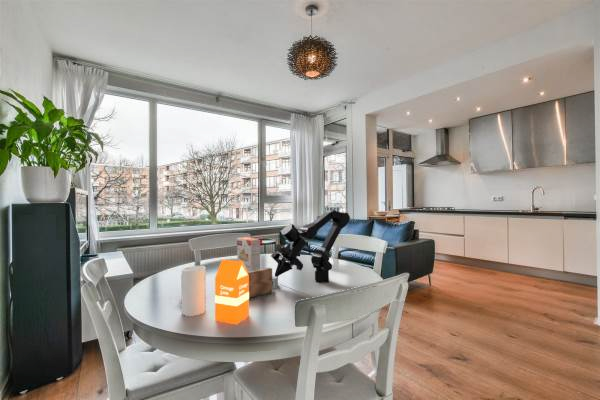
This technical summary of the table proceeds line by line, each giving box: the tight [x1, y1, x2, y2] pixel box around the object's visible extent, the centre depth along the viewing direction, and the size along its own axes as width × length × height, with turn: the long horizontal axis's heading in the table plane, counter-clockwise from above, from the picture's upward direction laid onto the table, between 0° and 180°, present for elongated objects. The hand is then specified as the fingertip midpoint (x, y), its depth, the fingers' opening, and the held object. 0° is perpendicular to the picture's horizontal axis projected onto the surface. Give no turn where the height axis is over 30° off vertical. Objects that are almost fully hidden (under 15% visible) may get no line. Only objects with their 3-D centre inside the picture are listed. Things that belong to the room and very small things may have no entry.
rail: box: [249, 290, 276, 301], centre depth 118 cm, size 22×4×2 cm, turn 128°
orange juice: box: [214, 259, 250, 325], centre depth 98 cm, size 8×9×20 cm
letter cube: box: [272, 275, 279, 289], centre depth 134 cm, size 4×5×4 cm
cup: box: [181, 265, 207, 317], centre depth 104 cm, size 8×8×16 cm
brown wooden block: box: [247, 267, 273, 297], centre depth 120 cm, size 12×3×10 cm, turn 128°
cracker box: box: [236, 236, 261, 272], centre depth 149 cm, size 14×6×21 cm, turn 42°
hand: (275, 276), depth 126 cm, fingers closed
